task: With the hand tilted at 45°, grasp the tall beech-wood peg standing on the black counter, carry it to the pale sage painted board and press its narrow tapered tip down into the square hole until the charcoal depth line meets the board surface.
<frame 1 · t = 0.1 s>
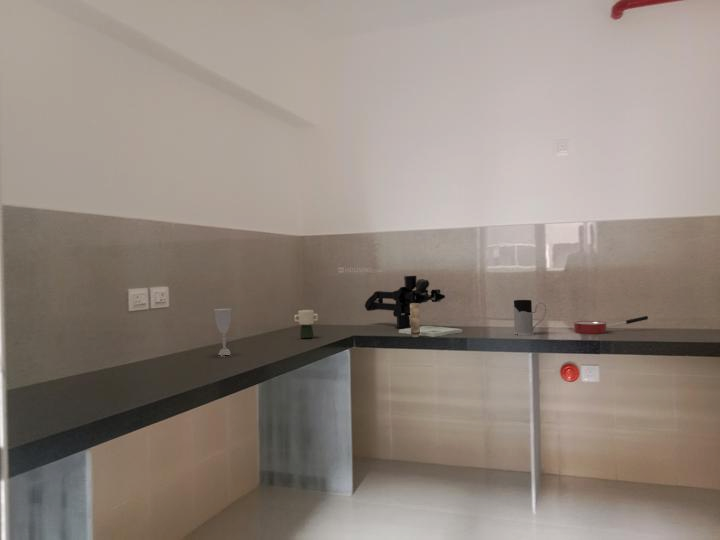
hand: (438, 297, 254), 17 cm above the counter, tool horizontal, fingers open, 9 cm apart
chalice: (224, 355, 208), on the counter
beech peg: (415, 336, 240), on the counter
trophy cup: (306, 338, 248), on the counter
seat board: (430, 332, 253), on the counter
frying pan: (610, 331, 235), on the counter
grey mug: (530, 334, 235), on the counter
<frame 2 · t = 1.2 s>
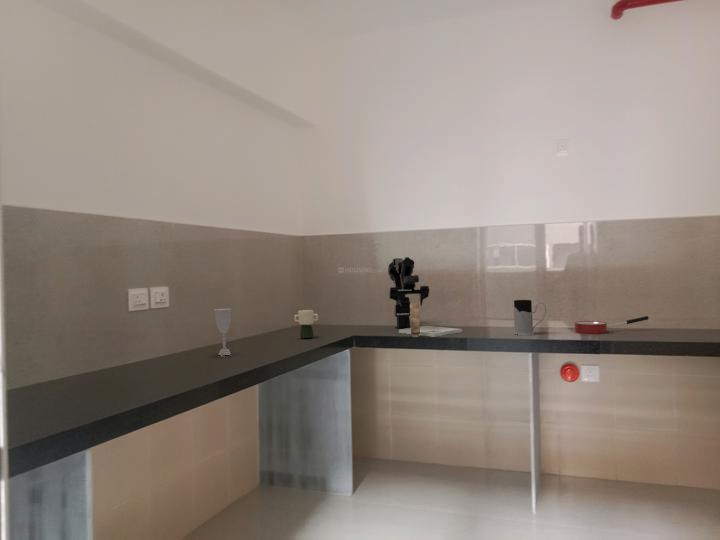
hand: (411, 305, 248), 13 cm above the counter, tool tilted 45°, fingers open, 9 cm apart
nothing on the counter moved.
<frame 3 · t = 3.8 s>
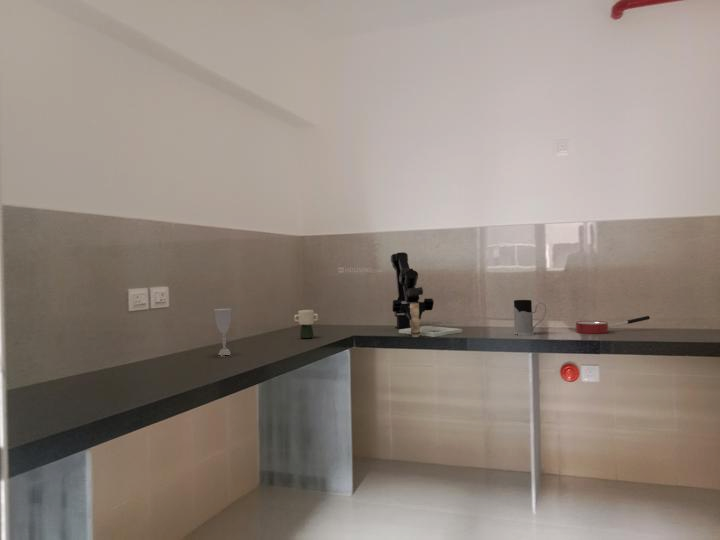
hand: (415, 319, 239), 8 cm above the counter, tool tilted 45°, fingers closed on beech peg, 4 cm apart
beech peg: (415, 336, 240), on the counter, touching gripper
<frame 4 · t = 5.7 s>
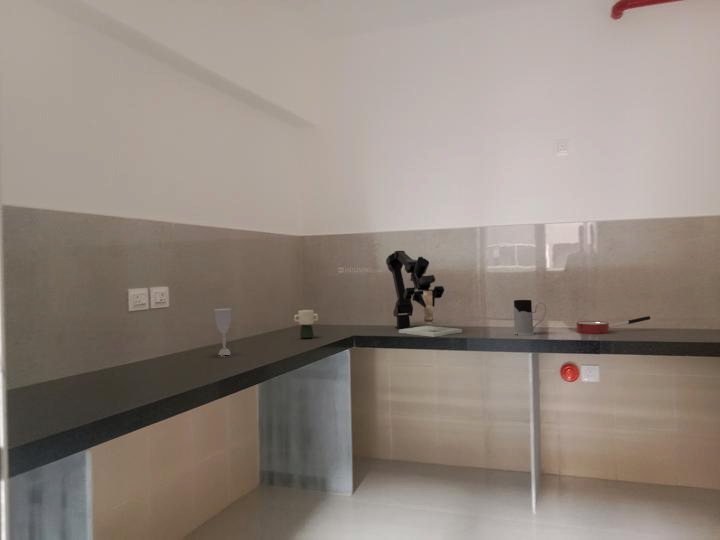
hand: (429, 306, 242), 13 cm above the counter, tool tilted 45°, fingers closed on beech peg, 4 cm apart
beech peg: (428, 323, 243), point 5 cm above the counter, touching gripper
when the fingers open (8 cm above the counter, at t = 7.6 s): beech peg stays where it is, resting in seat board.
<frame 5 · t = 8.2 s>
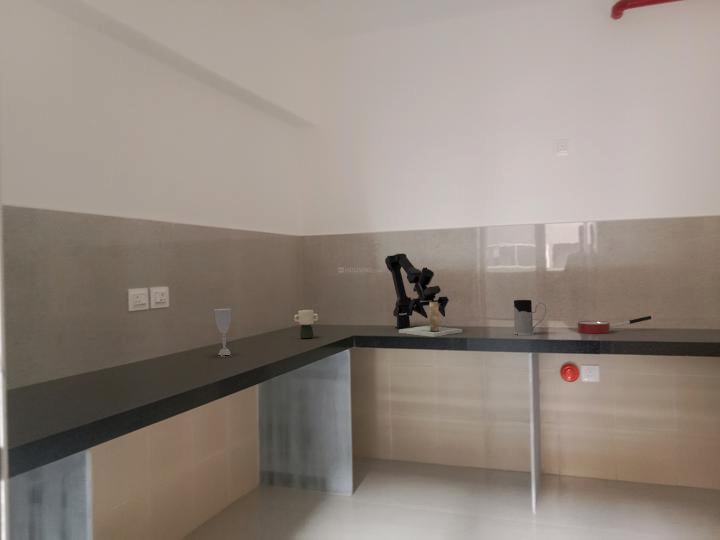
hand: (435, 317, 243), 8 cm above the counter, tool tilted 45°, fingers open, 9 cm apart
beech peg: (434, 334, 245), resting in seat board
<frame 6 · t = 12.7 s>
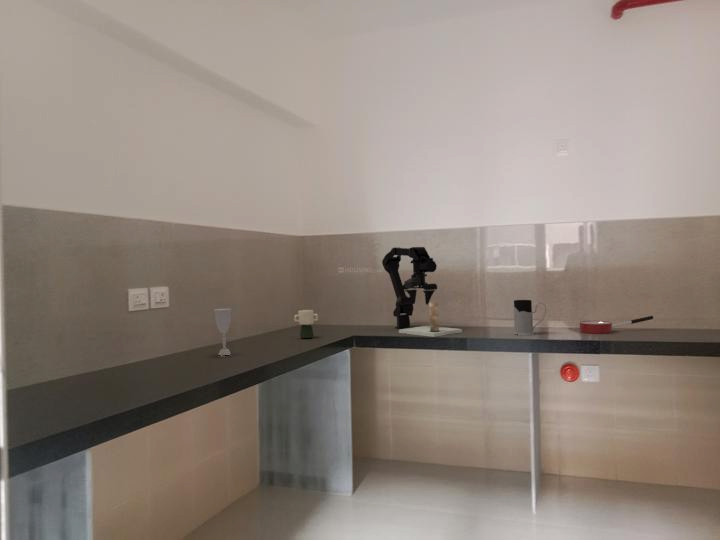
hand: (420, 304, 261), 13 cm above the counter, tool pointing down, fingers open, 9 cm apart
at the end: beech peg 0.1 cm from the target spot on the seat board, point 0.0 cm above the seat board's base; beech peg tilted 0°; the gripper is holding nothing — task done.
